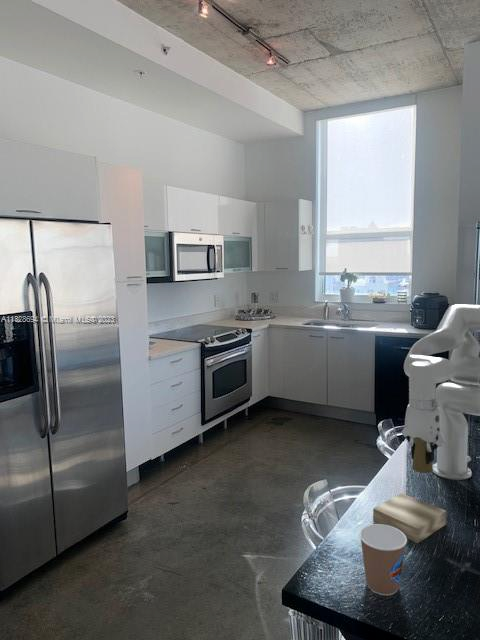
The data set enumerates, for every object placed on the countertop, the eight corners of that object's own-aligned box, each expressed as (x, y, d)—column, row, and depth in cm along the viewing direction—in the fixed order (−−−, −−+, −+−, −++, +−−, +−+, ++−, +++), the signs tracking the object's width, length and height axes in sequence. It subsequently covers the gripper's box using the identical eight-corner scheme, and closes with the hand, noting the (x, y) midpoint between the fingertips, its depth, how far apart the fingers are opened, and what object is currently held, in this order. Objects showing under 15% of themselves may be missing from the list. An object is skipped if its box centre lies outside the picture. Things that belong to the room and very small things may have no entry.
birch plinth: (401, 505, 145) (401, 493, 145) (445, 524, 134) (446, 510, 134) (373, 521, 136) (373, 508, 136) (417, 543, 125) (418, 528, 125)
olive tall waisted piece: (434, 473, 144) (434, 438, 142) (413, 472, 145) (413, 437, 144) (431, 464, 150) (431, 430, 148) (410, 463, 151) (410, 430, 149)
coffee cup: (399, 607, 102) (400, 554, 101) (353, 591, 108) (352, 540, 107) (411, 580, 111) (411, 531, 110) (367, 566, 117) (367, 519, 115)
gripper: (455, 405, 140) (455, 465, 143) (404, 394, 153) (405, 448, 156) (442, 412, 136) (441, 473, 138) (390, 399, 149) (391, 455, 151)
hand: (422, 459), depth 147 cm, fingers closed on olive tall waisted piece, 4 cm apart
